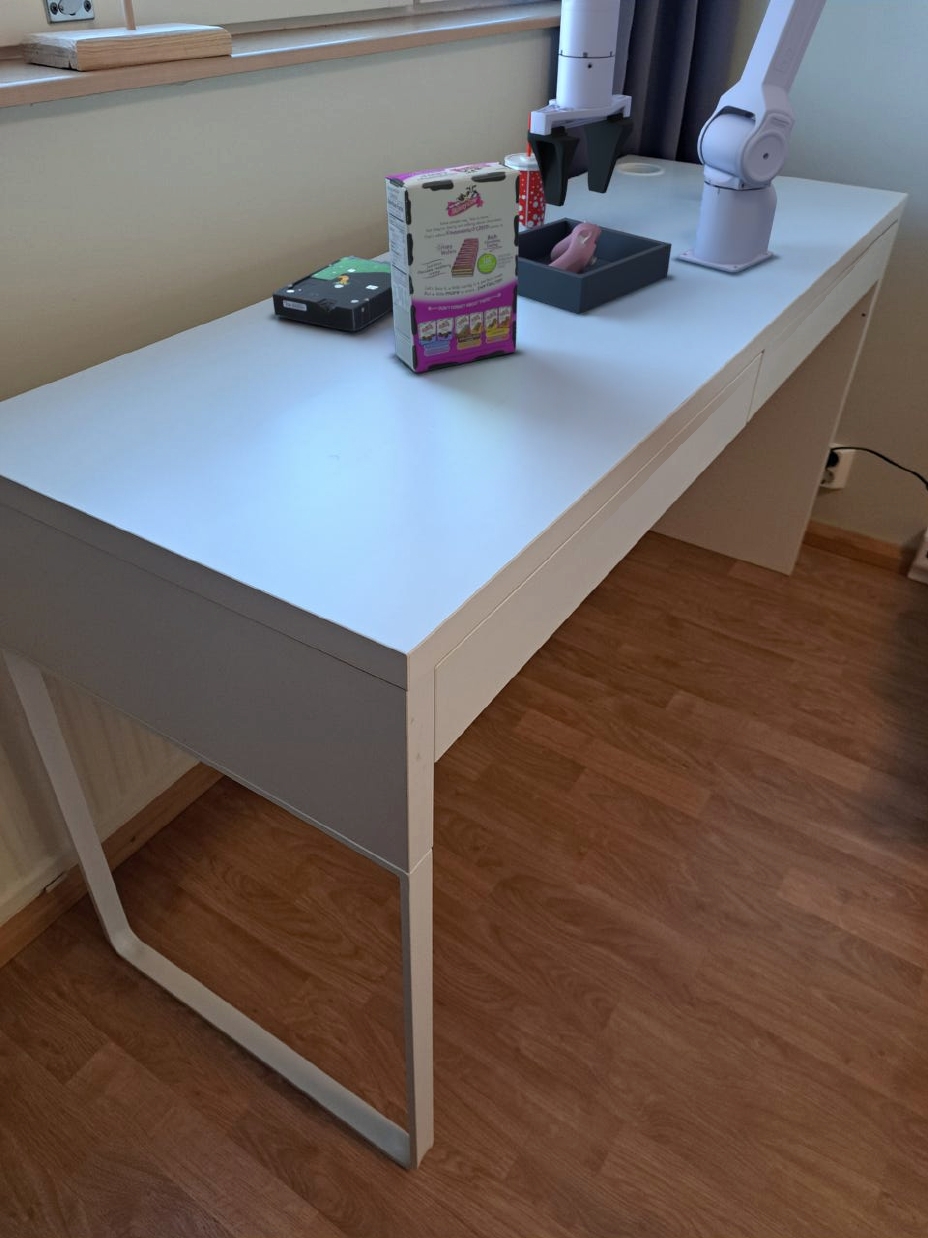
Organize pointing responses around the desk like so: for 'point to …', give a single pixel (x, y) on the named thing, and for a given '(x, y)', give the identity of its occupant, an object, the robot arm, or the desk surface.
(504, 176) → the candy bar box
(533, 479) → the desk surface
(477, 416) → the desk surface
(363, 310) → the disk drive
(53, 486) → the desk surface
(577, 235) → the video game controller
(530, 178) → the beverage cup
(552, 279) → the bin
